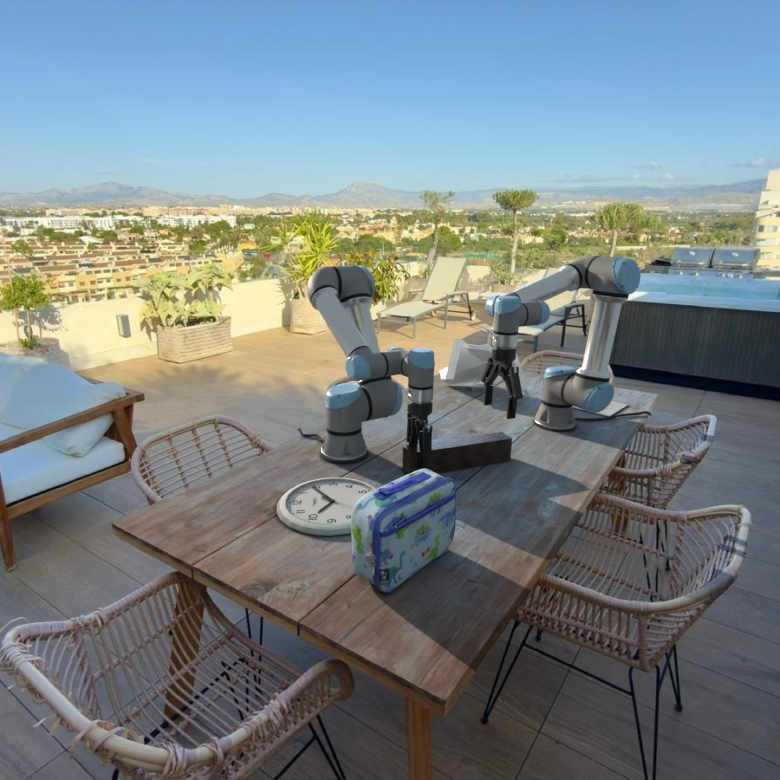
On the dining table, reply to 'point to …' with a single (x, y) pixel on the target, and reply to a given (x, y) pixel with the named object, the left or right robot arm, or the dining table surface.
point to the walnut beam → (460, 453)
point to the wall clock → (322, 505)
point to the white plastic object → (472, 364)
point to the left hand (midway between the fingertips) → (417, 470)
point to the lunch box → (402, 527)
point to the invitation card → (610, 408)
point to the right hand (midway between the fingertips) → (498, 411)
